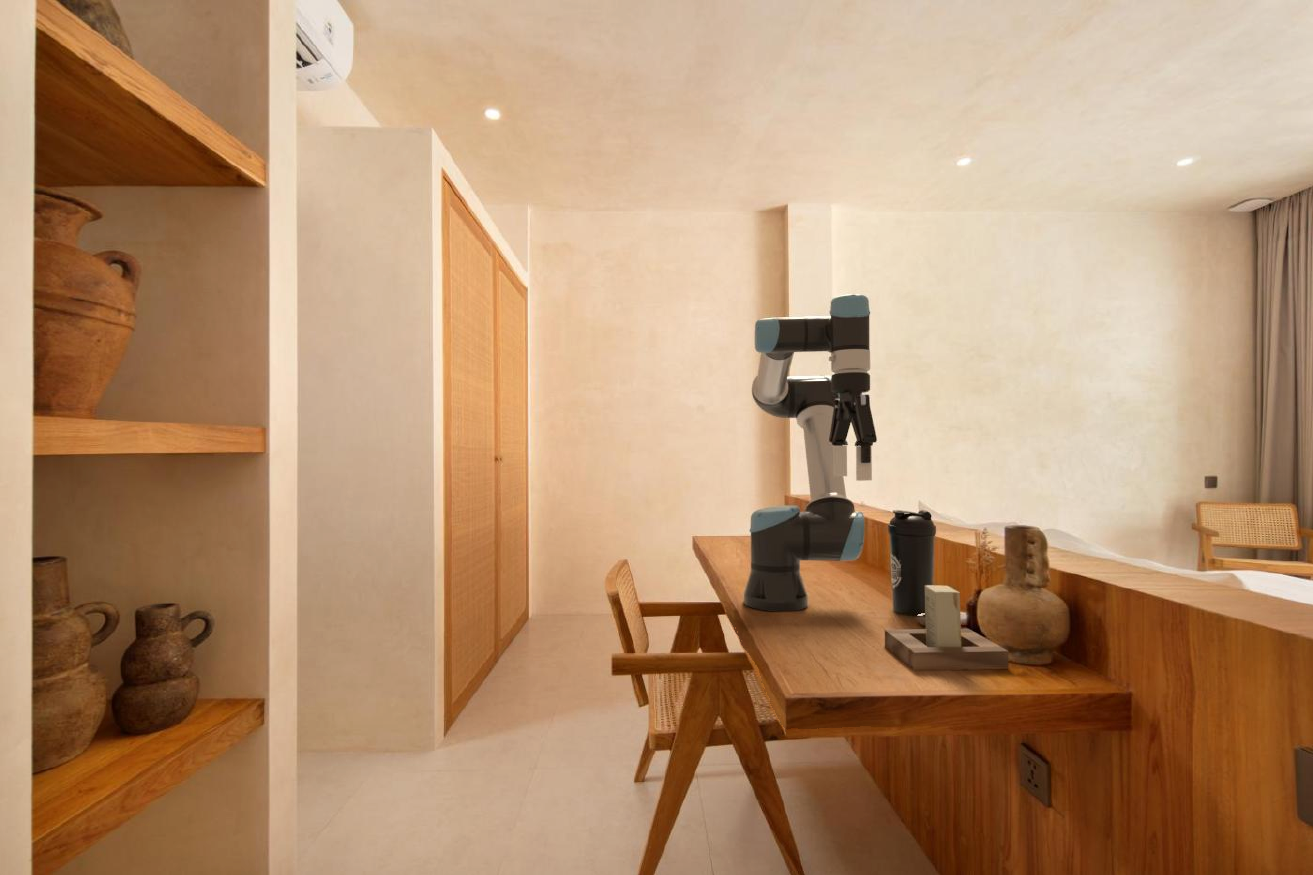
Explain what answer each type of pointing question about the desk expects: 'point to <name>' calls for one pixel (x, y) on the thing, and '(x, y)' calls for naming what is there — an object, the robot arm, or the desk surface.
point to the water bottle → (911, 560)
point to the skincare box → (942, 616)
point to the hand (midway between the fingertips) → (851, 478)
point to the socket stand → (946, 651)
